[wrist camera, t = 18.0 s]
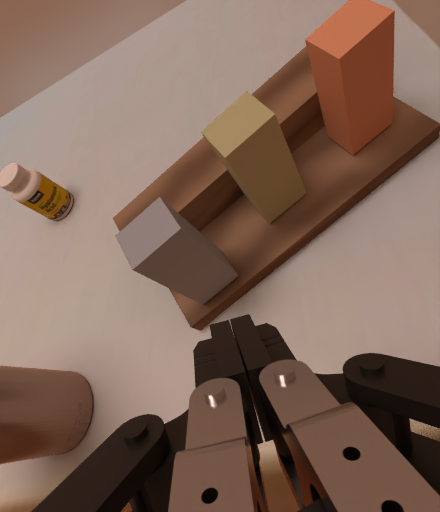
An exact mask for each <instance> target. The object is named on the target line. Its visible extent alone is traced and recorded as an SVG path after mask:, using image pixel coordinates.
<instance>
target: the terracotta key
mask: <svg viewBox="0 0 440 512" xmlns="http://www.w3.org/2000/svg"><path fill="white" fill-rule="evenodd" d="M394 13H395V11H394V10H392V9H389V8H387V7H384V6H382V5H380V4H377V3H375V2H372V1H370V0H349V1H348V2H347V3H346V4H345V5H344V6H342V7H341V8H340V9H339V10H338V11H337V12H336V13H335V14H333V15H332V16H331V17H330V18H329V19H328V20H327V21H326V22H324V23H323V24H322V25H321V26H320V27H319V28H318V29H317V30H315V31H314V32H313V33H312V34H311V35H310V36H309V37H308V38H307V39H305V41H306V45H307V50H308V54H309V58H310V63H311V67H312V71H313V76H314V80H315V84H316V89H317V93H318V97H319V102H320V106H321V110H322V115H323V119H324V123H325V128H326V132H327V136H328V137H330V138H331V139H332V140H334V141H335V142H336V143H337V144H339V145H340V146H341V147H343V148H344V149H345V150H347V151H348V152H349V153H351V154H352V155H354V154H355V153H356V152H358V151H359V150H360V149H361V148H362V147H364V146H365V145H366V144H367V143H368V142H370V141H371V140H372V139H373V138H374V137H376V136H377V135H378V134H379V133H380V132H382V131H383V130H384V129H385V128H387V127H388V126H389V125H390V124H391V123H393V69H394Z"/></svg>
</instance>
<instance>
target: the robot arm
mask: <svg viewBox="0 0 440 512" xmlns="http://www.w3.org/2000/svg"><path fill="white" fill-rule="evenodd" d="M230 321H231V325H232V329H233V332H232V329H231V326H230V323H229V320H226V321H223V322H219V323H215V324H212V325H210V330H211V336H212V338H211V339H207V340H204V341H200V342H198V344H197V345H196V347H195V349H194V350H193V351H194V366H195V367H194V368H195V385H196V389H195V390H194V391H193V392H192V394H191V396H190V400H189V409H188V410H187V411H186V412H184V413H183V414H182V415H180V416H179V417H177V418H175V419H173V420H171V421H170V422H168V423H166V424H164V423H163V420H162V419H161V418H160V417H159V416H156V415H152V414H147V415H141V416H138V417H135V418H133V419H130V420H129V421H127V422H125V423H124V424H122V425H121V426H120V427H119V428H118V429H117V430H116V431H115V432H114V433H113V434H111V435H110V436H109V437H108V438H107V439H106V440H105V441H104V442H103V443H102V444H101V445H100V446H99V447H98V448H97V449H96V450H95V451H94V452H93V453H92V454H91V455H90V456H89V457H88V458H87V459H86V460H85V461H84V462H82V463H81V464H80V465H79V466H78V467H77V468H76V469H75V470H74V471H73V472H72V473H71V474H70V475H69V476H68V477H67V478H66V479H65V480H64V481H63V482H62V483H61V484H60V485H59V486H58V487H57V488H56V489H55V490H53V491H52V492H51V493H50V494H49V495H48V496H47V497H46V498H45V499H44V500H43V501H42V502H41V503H40V504H39V505H38V506H37V507H36V508H35V509H34V510H33V511H32V512H121V511H122V509H123V508H124V507H125V506H126V504H127V503H128V502H130V505H131V508H132V510H133V511H132V512H269V510H268V505H267V499H266V493H265V488H264V482H263V476H262V471H261V467H260V463H259V461H260V453H259V449H258V445H257V444H260V443H263V439H262V435H261V432H260V428H259V424H258V420H257V416H258V419H259V423H260V426H261V429H262V432H263V435H264V439H265V442H267V441H270V440H273V441H274V444H275V447H276V450H277V455H278V459H279V463H280V466H281V468H282V470H283V472H284V475H285V477H286V479H287V481H288V484H289V486H290V488H291V491H292V493H293V495H294V497H295V500H296V502H297V504H298V506H299V509H300V511H298V512H440V442H439V441H436V440H433V439H430V438H428V437H425V436H422V435H419V434H416V433H414V432H411V429H410V421H409V418H410V419H413V420H416V421H419V422H422V423H425V424H428V425H431V426H434V427H437V428H440V367H438V366H433V365H429V364H424V363H420V362H415V361H411V360H406V359H401V358H397V357H392V356H388V355H383V354H377V353H366V354H360V355H357V356H354V357H352V358H350V359H348V360H347V361H346V362H345V364H344V366H343V374H316V373H313V372H312V370H311V369H310V368H309V367H308V366H307V365H306V364H305V363H303V362H301V361H297V360H296V358H295V357H294V355H293V354H292V352H291V351H290V349H289V347H288V346H287V344H286V343H285V342H284V339H283V338H282V336H281V335H280V333H279V331H278V330H277V328H276V327H274V326H272V325H270V324H268V323H265V324H262V325H258V326H255V325H254V323H253V321H252V319H251V317H250V315H249V314H248V315H244V316H241V317H237V318H233V319H230ZM233 333H234V335H233ZM234 337H235V338H234ZM92 406H93V402H92V394H91V390H90V387H89V385H88V383H87V381H86V380H85V378H84V377H83V376H81V375H80V374H79V373H76V372H71V371H59V370H48V369H36V368H23V367H11V366H0V464H4V463H10V462H16V461H21V460H27V459H34V458H39V457H45V456H50V455H56V454H61V453H65V452H67V451H69V450H71V449H72V448H74V447H75V446H76V445H77V444H78V443H79V442H80V440H81V439H82V438H83V436H84V434H85V433H86V431H87V428H88V426H89V423H90V419H91V415H92ZM254 407H255V408H254ZM255 410H256V412H255ZM256 413H257V416H256Z"/></svg>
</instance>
